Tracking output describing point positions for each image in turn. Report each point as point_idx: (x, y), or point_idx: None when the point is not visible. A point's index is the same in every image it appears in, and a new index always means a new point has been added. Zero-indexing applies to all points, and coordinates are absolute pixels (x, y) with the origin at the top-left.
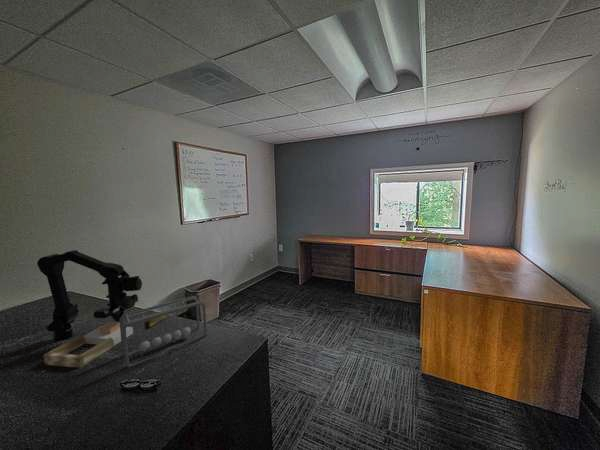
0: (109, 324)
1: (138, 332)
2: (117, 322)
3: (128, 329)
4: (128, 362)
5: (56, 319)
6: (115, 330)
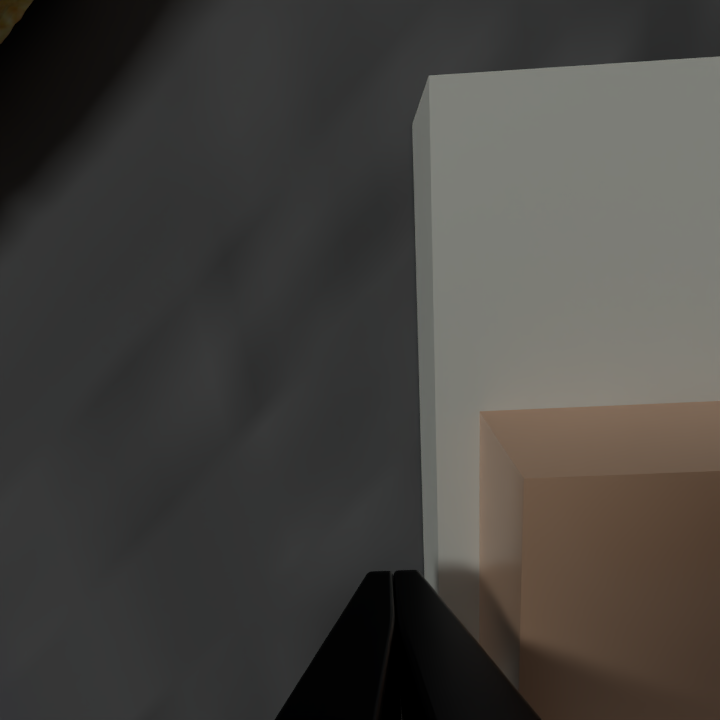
0: (698, 712)
1: (362, 21)
2: (552, 582)
3: (569, 84)
4: None
5: None
6: (667, 408)
